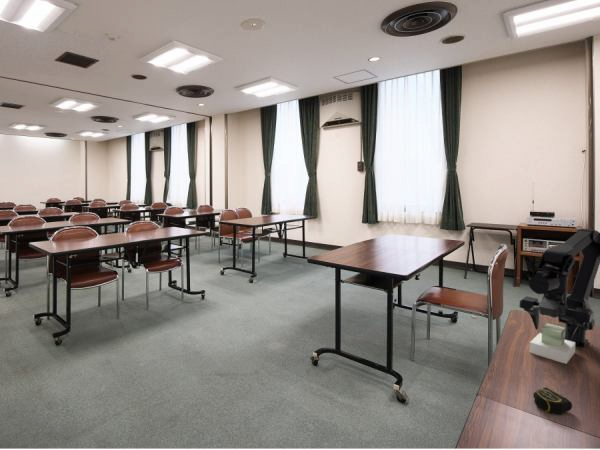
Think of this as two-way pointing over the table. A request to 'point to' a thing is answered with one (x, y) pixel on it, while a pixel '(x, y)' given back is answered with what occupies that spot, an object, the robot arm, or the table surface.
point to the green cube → (553, 335)
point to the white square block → (552, 349)
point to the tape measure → (551, 401)
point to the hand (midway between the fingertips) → (553, 333)
